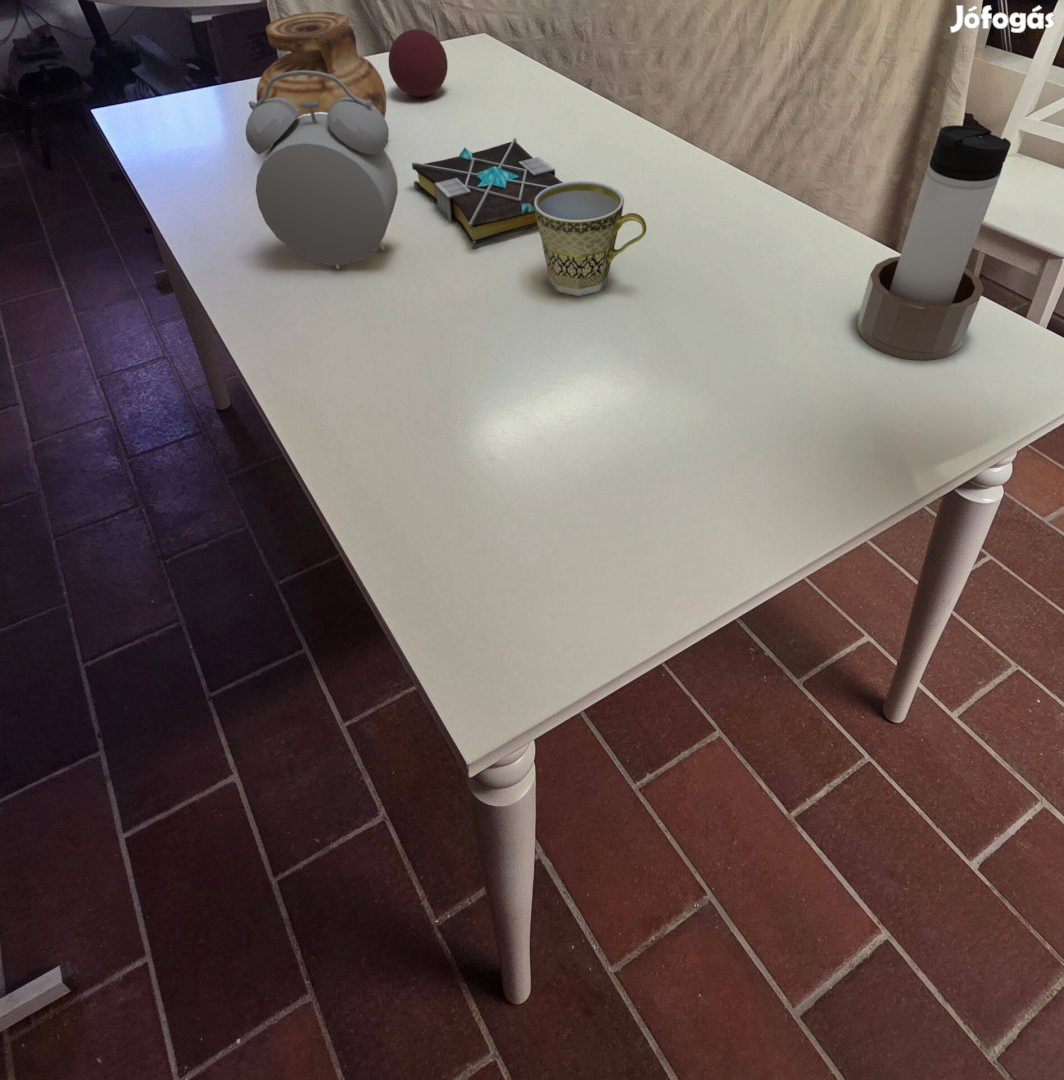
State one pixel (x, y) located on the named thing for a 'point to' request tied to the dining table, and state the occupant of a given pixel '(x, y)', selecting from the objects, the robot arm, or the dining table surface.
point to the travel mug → (949, 214)
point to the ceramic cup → (581, 233)
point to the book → (487, 189)
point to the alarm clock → (324, 174)
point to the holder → (915, 317)
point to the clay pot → (319, 62)
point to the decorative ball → (418, 63)
